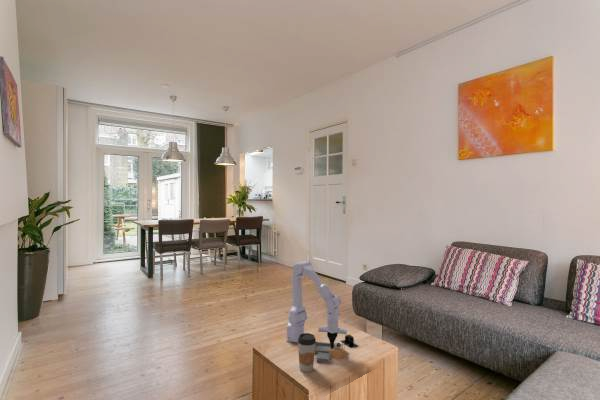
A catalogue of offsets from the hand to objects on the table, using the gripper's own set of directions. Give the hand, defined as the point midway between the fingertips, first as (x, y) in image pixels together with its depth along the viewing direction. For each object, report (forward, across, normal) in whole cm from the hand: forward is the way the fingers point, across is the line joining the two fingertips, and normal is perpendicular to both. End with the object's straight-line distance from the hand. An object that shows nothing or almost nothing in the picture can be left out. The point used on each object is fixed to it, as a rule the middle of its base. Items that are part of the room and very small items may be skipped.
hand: (332, 346), depth 162 cm
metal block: (+2, +2, -1) cm, 3 cm away
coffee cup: (+3, -10, -18) cm, 21 cm away
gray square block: (+3, -3, -8) cm, 9 cm away
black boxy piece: (+4, +8, +13) cm, 16 cm away
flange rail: (+3, -2, 0) cm, 4 cm away
